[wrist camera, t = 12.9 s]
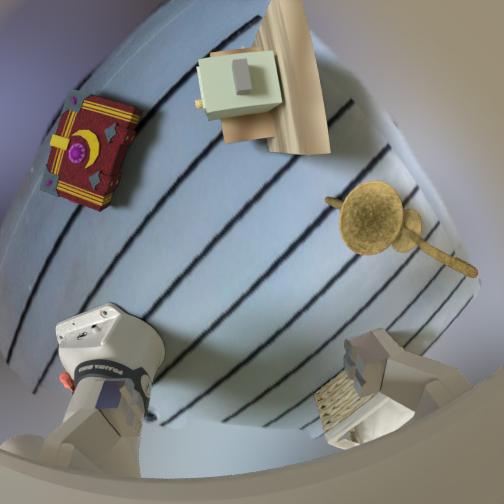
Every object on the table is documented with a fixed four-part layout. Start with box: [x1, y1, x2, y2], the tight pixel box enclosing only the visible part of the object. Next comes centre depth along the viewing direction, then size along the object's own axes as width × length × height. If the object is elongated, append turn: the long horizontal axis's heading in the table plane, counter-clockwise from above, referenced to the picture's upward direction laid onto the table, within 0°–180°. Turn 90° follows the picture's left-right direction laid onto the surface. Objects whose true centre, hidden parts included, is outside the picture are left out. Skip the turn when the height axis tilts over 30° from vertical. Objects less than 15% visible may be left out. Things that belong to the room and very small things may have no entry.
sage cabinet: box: [195, 51, 282, 121], centre depth 25 cm, size 8×6×10 cm
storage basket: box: [314, 333, 415, 450], centre depth 51 cm, size 24×16×15 cm
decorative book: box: [40, 89, 143, 212], centre depth 33 cm, size 11×16×5 cm
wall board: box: [210, 0, 331, 155], centre depth 27 cm, size 10×16×18 cm, turn 9°
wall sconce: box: [325, 181, 478, 278], centre depth 31 cm, size 14×10×25 cm
